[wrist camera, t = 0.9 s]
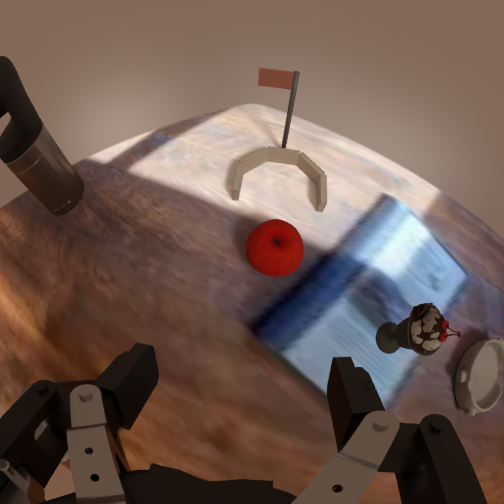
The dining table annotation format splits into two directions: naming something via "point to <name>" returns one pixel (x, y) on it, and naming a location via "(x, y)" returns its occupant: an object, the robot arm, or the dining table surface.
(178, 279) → the dining table surface
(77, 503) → the robot arm
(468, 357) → the dish
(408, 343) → the sundae
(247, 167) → the cup
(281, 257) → the apple
